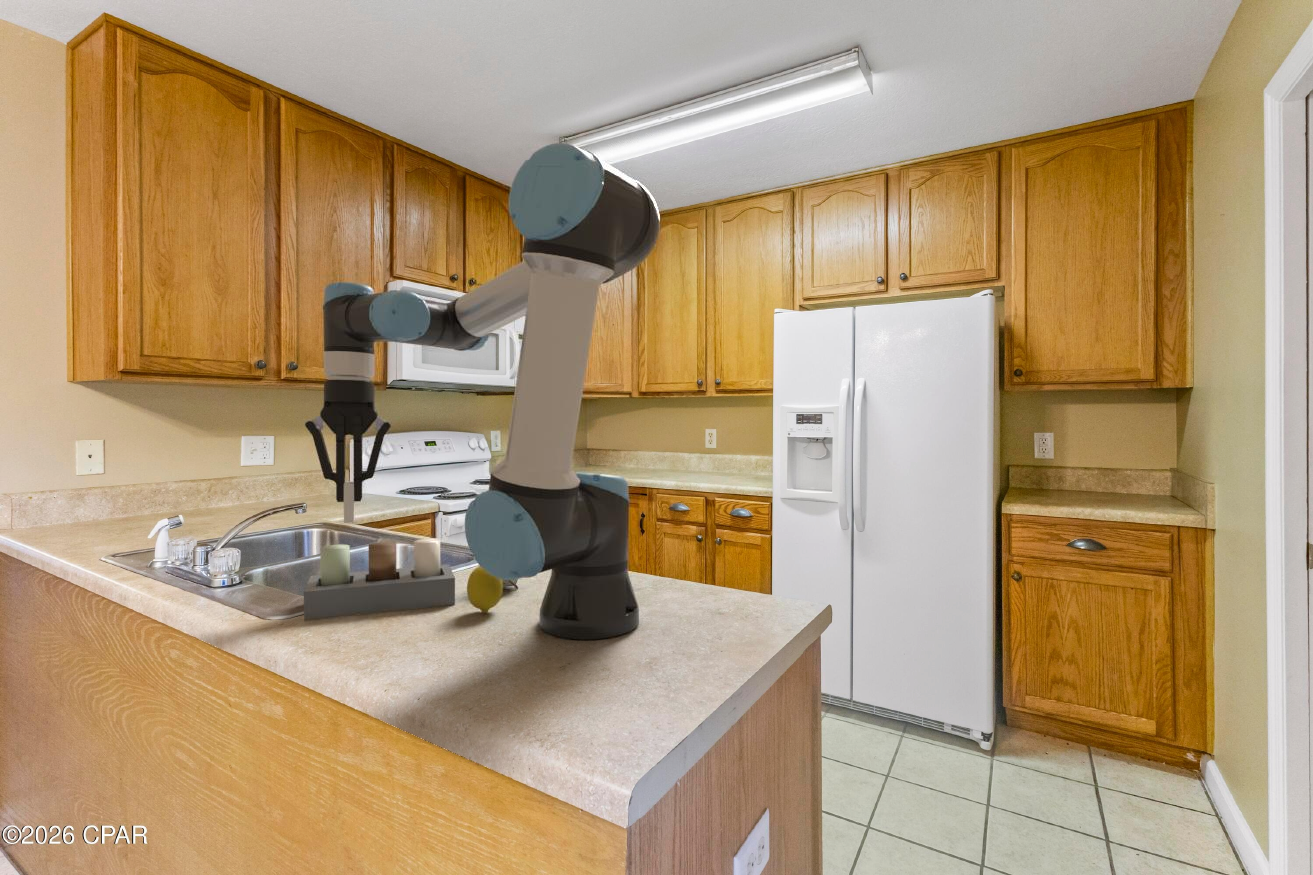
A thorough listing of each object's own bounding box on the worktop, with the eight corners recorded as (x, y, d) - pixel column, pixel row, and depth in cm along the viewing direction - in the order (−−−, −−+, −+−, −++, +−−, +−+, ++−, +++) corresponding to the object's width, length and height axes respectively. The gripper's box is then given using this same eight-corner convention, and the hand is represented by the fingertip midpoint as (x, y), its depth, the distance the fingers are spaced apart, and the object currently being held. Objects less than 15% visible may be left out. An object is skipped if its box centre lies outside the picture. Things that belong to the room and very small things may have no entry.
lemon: (493, 619, 97) (493, 568, 97) (460, 616, 98) (460, 566, 98) (508, 608, 102) (508, 560, 102) (477, 606, 104) (477, 558, 103)
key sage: (349, 592, 100) (349, 548, 100) (319, 594, 99) (319, 550, 98) (350, 585, 104) (350, 543, 104) (322, 587, 102) (321, 545, 102)
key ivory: (441, 583, 106) (441, 542, 106) (414, 585, 104) (414, 544, 104) (439, 577, 110) (439, 537, 110) (413, 579, 108) (413, 539, 108)
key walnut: (396, 587, 103) (396, 545, 103) (368, 590, 101) (368, 547, 101) (396, 581, 107) (395, 540, 107) (369, 583, 105) (368, 542, 105)
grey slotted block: (454, 604, 104) (454, 577, 104) (304, 620, 95) (303, 591, 95) (449, 588, 113) (448, 564, 113) (310, 602, 104) (310, 575, 104)
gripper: (392, 381, 109) (392, 515, 110) (307, 378, 104) (308, 519, 105) (391, 380, 102) (391, 523, 103) (301, 376, 97) (301, 527, 98)
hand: (349, 521), depth 104 cm, fingers closed
